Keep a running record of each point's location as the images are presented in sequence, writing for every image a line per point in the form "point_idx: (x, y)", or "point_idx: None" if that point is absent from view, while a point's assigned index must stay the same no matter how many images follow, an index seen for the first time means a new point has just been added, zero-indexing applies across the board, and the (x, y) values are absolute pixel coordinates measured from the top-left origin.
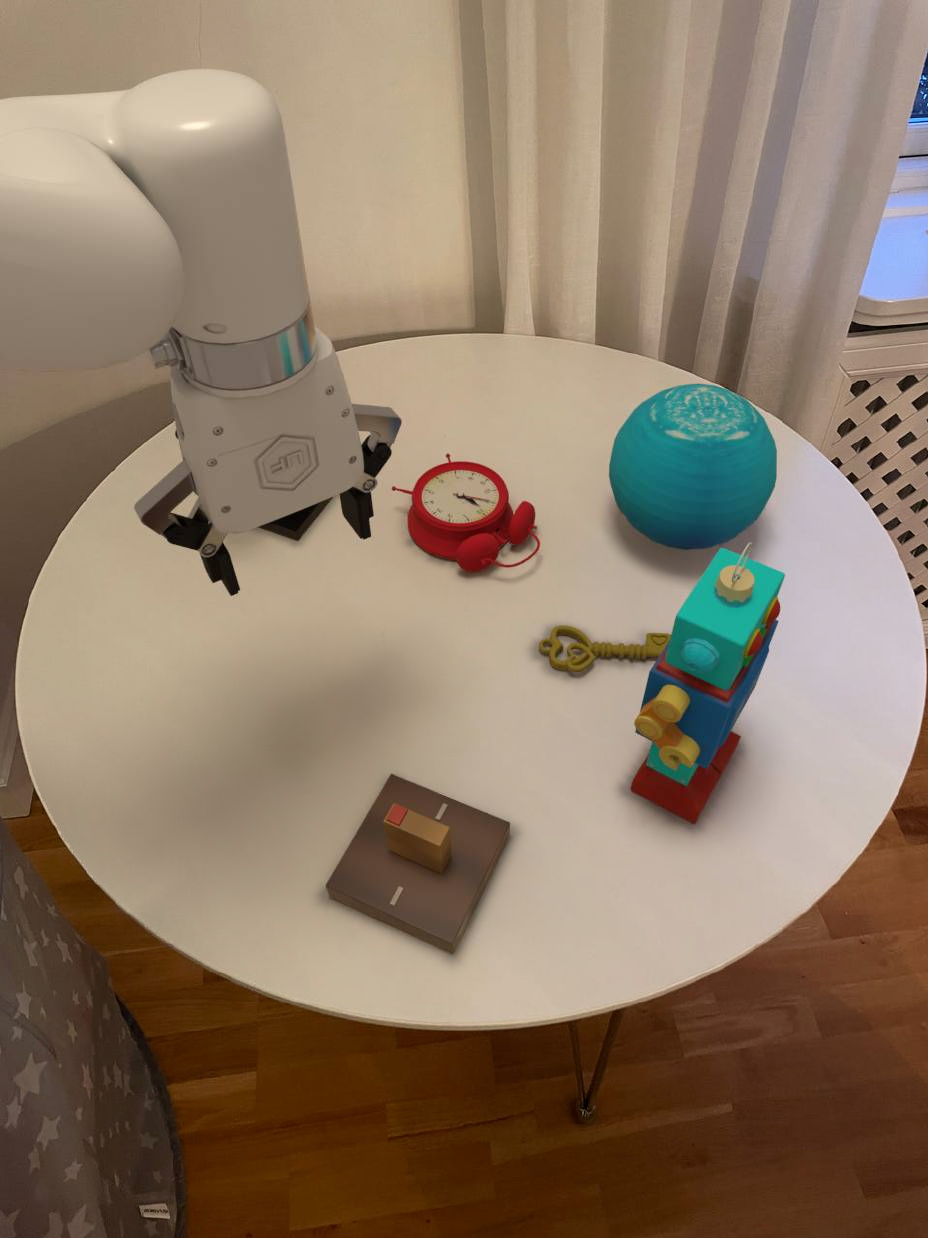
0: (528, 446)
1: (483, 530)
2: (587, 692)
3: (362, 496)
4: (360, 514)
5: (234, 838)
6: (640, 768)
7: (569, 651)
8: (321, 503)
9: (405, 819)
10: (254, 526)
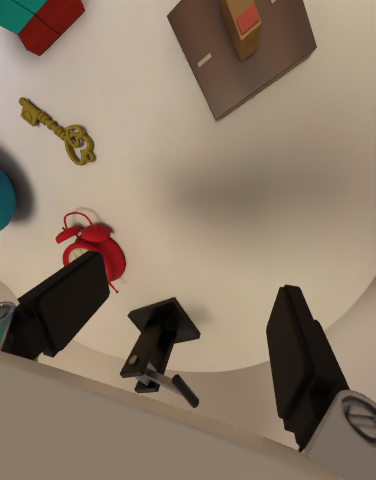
0: (56, 271)
1: (85, 242)
2: (82, 112)
3: (23, 302)
4: (63, 279)
5: (326, 149)
6: (64, 4)
7: (77, 142)
8: (154, 306)
9: (243, 11)
10: (262, 462)
